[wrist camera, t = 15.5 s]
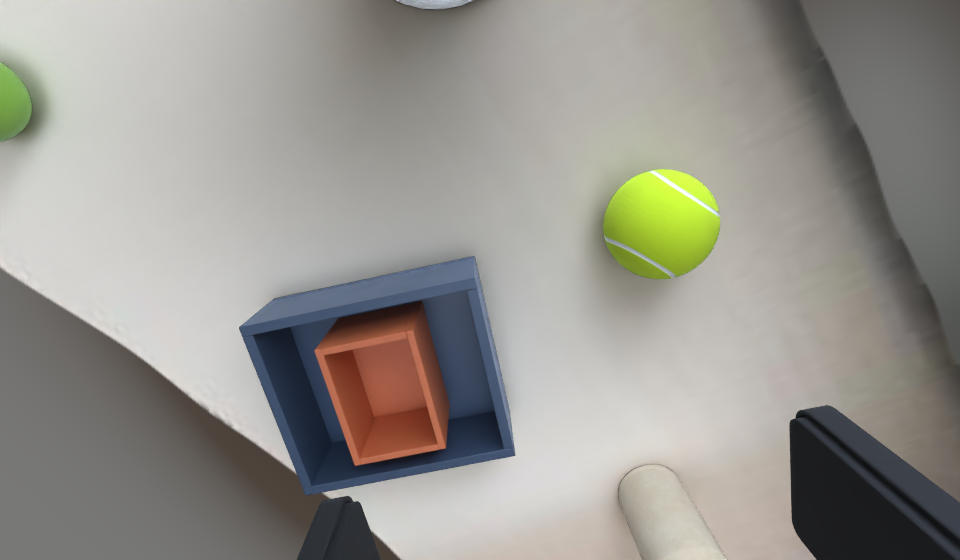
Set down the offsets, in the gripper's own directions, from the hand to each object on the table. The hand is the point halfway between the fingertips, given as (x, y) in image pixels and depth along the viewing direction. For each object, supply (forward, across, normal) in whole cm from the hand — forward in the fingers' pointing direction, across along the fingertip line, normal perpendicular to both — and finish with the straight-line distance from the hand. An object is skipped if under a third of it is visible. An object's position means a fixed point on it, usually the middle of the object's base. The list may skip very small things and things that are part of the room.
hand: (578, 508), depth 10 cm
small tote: (+25, +10, +7) cm, 28 cm away
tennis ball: (+26, -10, 0) cm, 27 cm away
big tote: (+25, +10, +7) cm, 28 cm away
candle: (+26, -8, +24) cm, 36 cm away
